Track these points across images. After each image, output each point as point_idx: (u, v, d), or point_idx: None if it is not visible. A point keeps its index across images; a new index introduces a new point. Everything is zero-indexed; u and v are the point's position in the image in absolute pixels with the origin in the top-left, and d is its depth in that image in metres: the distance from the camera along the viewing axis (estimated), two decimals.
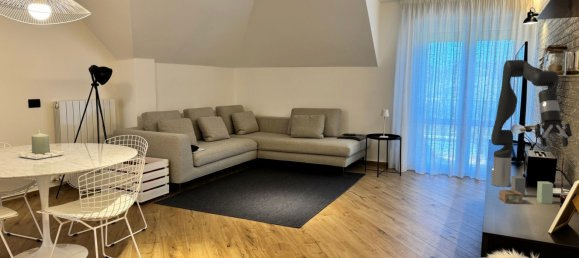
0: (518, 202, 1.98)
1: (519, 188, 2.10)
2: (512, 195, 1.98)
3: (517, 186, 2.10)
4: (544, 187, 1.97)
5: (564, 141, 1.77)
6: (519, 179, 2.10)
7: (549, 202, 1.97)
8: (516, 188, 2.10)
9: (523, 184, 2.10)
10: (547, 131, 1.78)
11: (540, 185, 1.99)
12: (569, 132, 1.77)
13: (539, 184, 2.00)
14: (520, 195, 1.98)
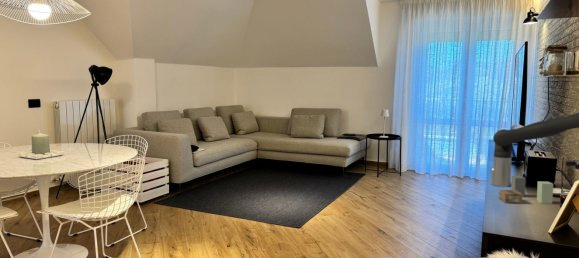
0: (518, 202, 1.98)
1: (519, 188, 2.10)
2: (512, 195, 1.99)
3: (517, 186, 2.10)
4: (545, 187, 1.97)
5: (571, 164, 2.00)
6: (519, 179, 2.10)
7: (549, 202, 1.97)
8: (516, 188, 2.10)
9: (523, 184, 2.10)
10: None
11: (540, 185, 1.99)
12: None
13: (539, 184, 2.00)
14: (520, 195, 1.98)
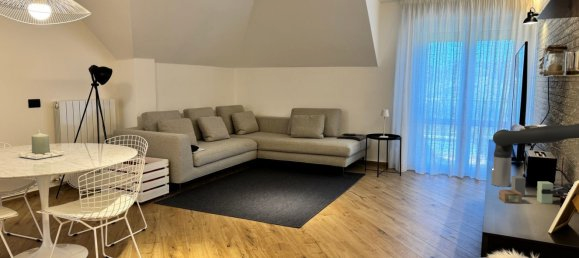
0: (517, 202, 1.99)
1: (519, 188, 2.10)
2: (512, 195, 1.99)
3: (517, 186, 2.10)
4: (544, 187, 1.97)
5: None
6: (519, 179, 2.10)
7: (549, 202, 1.97)
8: (516, 188, 2.10)
9: (523, 184, 2.10)
10: None
11: (540, 185, 1.99)
12: None
13: (539, 184, 2.00)
14: (519, 195, 1.98)
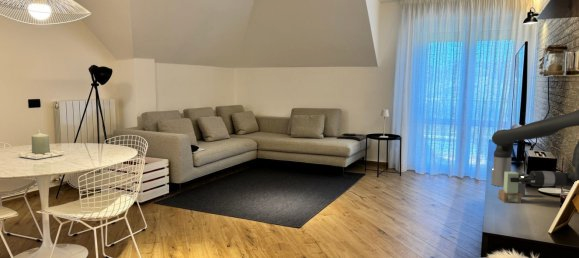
0: (517, 201, 1.99)
1: (519, 188, 2.10)
2: (511, 194, 2.00)
3: None
4: (510, 177, 1.99)
5: None
6: None
7: (514, 192, 2.00)
8: None
9: (523, 184, 2.10)
10: None
11: (506, 175, 2.01)
12: None
13: (505, 174, 2.02)
14: (519, 194, 1.99)
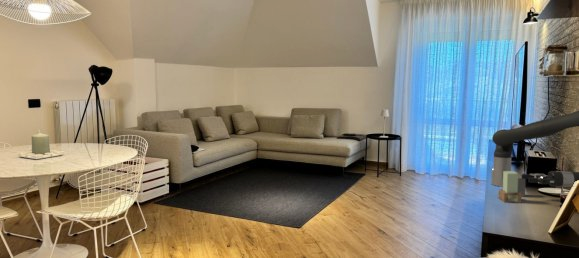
0: (517, 201, 2.00)
1: (519, 188, 2.10)
2: (511, 194, 2.00)
3: None
4: (510, 177, 2.00)
5: (526, 177, 2.04)
6: (519, 179, 2.10)
7: (514, 191, 2.00)
8: None
9: (523, 184, 2.10)
10: None
11: (506, 175, 2.01)
12: (533, 178, 2.06)
13: (505, 174, 2.02)
14: (519, 194, 1.99)
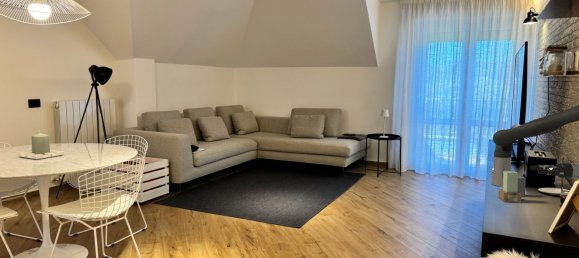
0: (517, 201, 2.00)
1: (519, 188, 2.10)
2: (511, 194, 2.00)
3: None
4: (510, 176, 2.01)
5: (535, 169, 2.03)
6: (519, 179, 2.10)
7: (514, 191, 2.01)
8: None
9: (523, 184, 2.10)
10: None
11: (505, 174, 2.02)
12: None
13: (505, 173, 2.04)
14: (519, 194, 2.00)
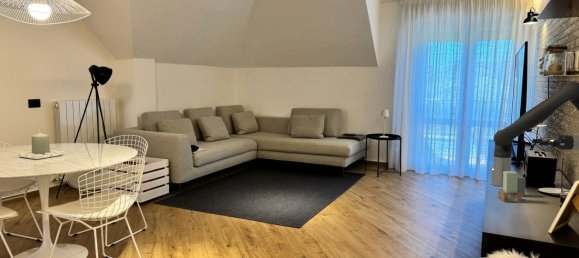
0: (517, 201, 2.00)
1: (519, 188, 2.10)
2: (511, 194, 2.00)
3: (517, 186, 2.10)
4: (509, 177, 2.00)
5: (537, 142, 2.07)
6: (519, 179, 2.10)
7: (514, 191, 2.01)
8: None
9: (523, 184, 2.10)
10: None
11: (505, 175, 2.02)
12: None
13: (504, 174, 2.03)
14: (519, 194, 2.00)
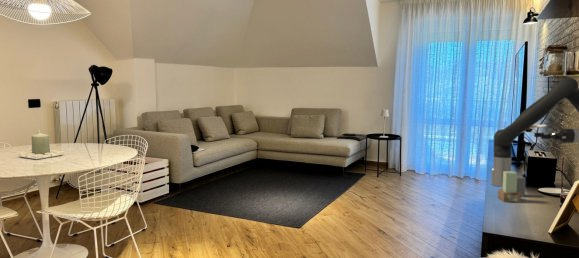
0: (516, 201, 2.00)
1: (519, 188, 2.10)
2: (511, 194, 2.00)
3: (517, 186, 2.10)
4: (509, 177, 2.01)
5: (539, 135, 2.14)
6: (519, 179, 2.10)
7: (513, 191, 2.01)
8: None
9: (523, 184, 2.10)
10: None
11: (505, 174, 2.03)
12: None
13: (504, 174, 2.04)
14: (518, 194, 2.00)
